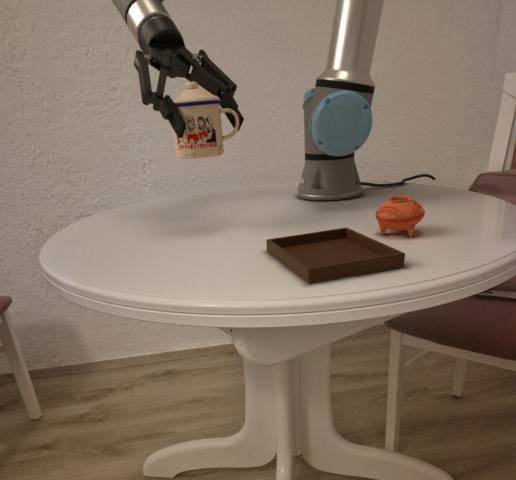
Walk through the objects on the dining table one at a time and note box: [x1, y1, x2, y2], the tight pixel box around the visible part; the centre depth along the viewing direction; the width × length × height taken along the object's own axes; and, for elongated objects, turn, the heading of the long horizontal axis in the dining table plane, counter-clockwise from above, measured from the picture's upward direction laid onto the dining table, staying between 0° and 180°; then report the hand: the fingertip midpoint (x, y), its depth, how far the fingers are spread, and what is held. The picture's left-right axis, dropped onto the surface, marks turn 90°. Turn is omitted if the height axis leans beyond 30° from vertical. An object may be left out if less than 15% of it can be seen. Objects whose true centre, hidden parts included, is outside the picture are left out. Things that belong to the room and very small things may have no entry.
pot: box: [374, 194, 426, 238], centre depth 80 cm, size 8×8×7 cm
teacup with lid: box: [171, 81, 239, 160], centre depth 84 cm, size 12×9×12 cm
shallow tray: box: [265, 227, 406, 285], centre depth 71 cm, size 14×17×2 cm
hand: (212, 128), depth 82 cm, fingers closed on teacup with lid, 11 cm apart
